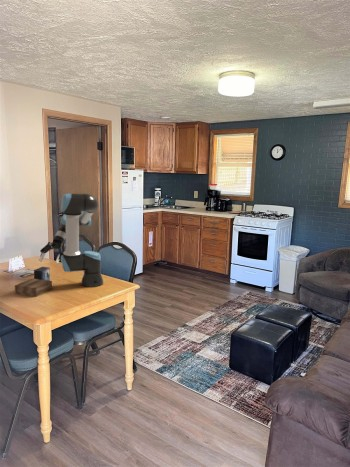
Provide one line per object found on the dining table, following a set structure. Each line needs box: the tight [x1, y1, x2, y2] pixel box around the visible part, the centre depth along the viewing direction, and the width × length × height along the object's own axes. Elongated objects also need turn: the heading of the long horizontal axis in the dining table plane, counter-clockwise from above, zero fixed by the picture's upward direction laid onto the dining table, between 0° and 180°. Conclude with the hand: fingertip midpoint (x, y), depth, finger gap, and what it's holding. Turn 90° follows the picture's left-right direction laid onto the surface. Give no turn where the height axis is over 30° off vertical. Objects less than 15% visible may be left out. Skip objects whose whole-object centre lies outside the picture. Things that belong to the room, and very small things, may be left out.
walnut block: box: [14, 278, 53, 298], centre depth 224 cm, size 16×16×6 cm
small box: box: [33, 266, 51, 281], centre depth 241 cm, size 11×6×10 cm, turn 168°
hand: (48, 261), depth 248 cm, fingers open, 13 cm apart
